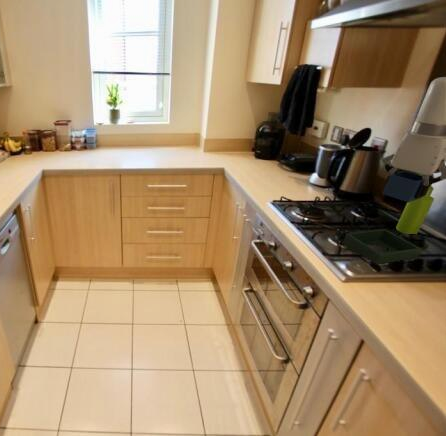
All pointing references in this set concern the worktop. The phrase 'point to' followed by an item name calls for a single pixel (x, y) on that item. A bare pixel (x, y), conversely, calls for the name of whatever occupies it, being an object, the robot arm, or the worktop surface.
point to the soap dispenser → (415, 213)
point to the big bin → (383, 238)
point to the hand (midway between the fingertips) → (403, 192)
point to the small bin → (403, 186)
